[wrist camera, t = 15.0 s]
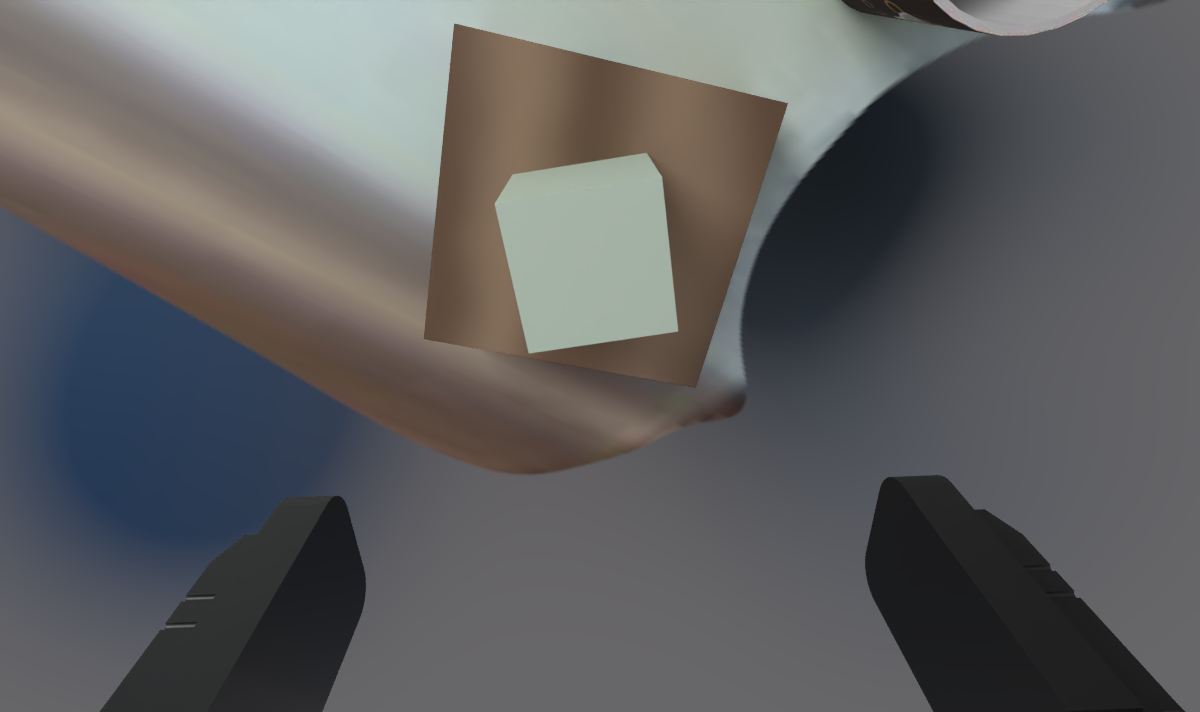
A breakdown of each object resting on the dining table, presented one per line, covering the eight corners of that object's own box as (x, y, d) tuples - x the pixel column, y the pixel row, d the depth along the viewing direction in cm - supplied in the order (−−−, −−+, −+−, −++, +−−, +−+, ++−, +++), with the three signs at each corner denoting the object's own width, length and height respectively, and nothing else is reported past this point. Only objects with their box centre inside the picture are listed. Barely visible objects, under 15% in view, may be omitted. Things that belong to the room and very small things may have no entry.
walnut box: (750, 94, 29) (787, 103, 24) (678, 336, 35) (695, 387, 29) (479, 29, 28) (454, 23, 22) (449, 293, 33) (423, 339, 28)
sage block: (646, 152, 24) (662, 177, 20) (661, 281, 27) (678, 331, 22) (512, 174, 25) (494, 204, 20) (539, 299, 27) (528, 353, 22)
